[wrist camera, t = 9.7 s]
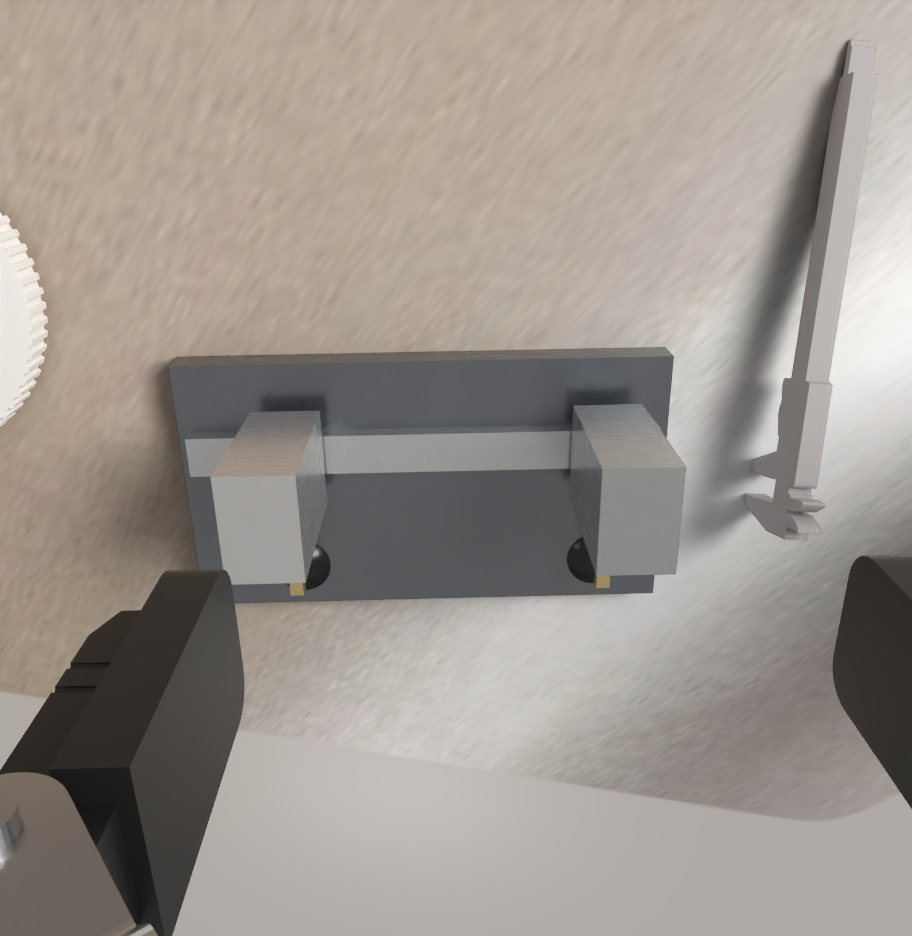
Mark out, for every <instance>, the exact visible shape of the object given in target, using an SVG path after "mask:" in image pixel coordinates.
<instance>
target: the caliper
mask: <svg viewBox="0 0 912 936" xmlns="http://www.w3.org/2000/svg"><path fill="white" fill-rule="evenodd" d="M875 53H876V48H875V42H871V41H860V40H850V41H849V43H848V47H847V53H846V59H845V66H844V73H843V76H842V77H841V78H840V81H839V86H838V90H837V95H836V99H835V103H834V108H833V112H832V117H831V122H830V129H829V135H828V142H827V148H826V155H825V162H824V168H823V175H822V182H821V188H820V195H819V202H818V208H817V215H816V222H815V228H814V235H813V242H812V248H811V255H810V261H809V268H808V274H807V281H806V287H805V294H804V300H803V306H802V313H801V319H800V326H799V332H798V339H797V345H796V352H795V358H794V365H793V371H792V378H791V379H790V378H785V379H784V380H783V386H782V401H781V405H780V408H779V413H778V435H779V441H778V447H777V452H774V453H771V454H767V455H764V456H761V457H758V458H755V459H753V463H752V467H751V469H753V470H756V472H757V473H758V474H761V475H763V476H766V477H768V478H772V479H775V480H776V484H775V491H774V498H771V497H769V496H767V495H765V494H749V493H746V505H747V507H748V508H749V509H750V511H751V512H752V514H753V515H754V516H755V517H756V518H757V520H758V521H759V522H760V523H761V525H762V526H763V527H764V528H765V530H766V531H768V532H770V533H772V534H774V535H777V536H779V537H781V538H783V539H789V540H806V541H807V535H808V534H821V530H820V527H819V525H818V523H817V522H816V520H815V519H814V517H813V516H811V515H809V514H808V512H817V511H819V510H821V509H823V508H824V507H825V506H826V505H825V503H823V502H821V501H818V500H813V499H812V495H810V492H811V488H816V486H817V481H818V475H819V468H820V462H821V456H822V449H823V443H824V436H825V430H826V424H827V417H828V411H829V404H830V398H831V392H832V384H831V383H829V382H828V380H829V374H830V368H831V362H832V356H833V350H834V343H835V337H836V331H837V325H838V319H839V313H840V307H841V301H842V294H843V288H844V282H845V276H846V270H847V264H848V258H849V252H850V245H851V239H852V233H853V227H854V221H855V215H856V209H857V203H858V196H859V190H860V184H861V178H862V172H863V165H864V159H865V153H866V147H867V141H868V134H869V128H870V122H871V116H872V109H873V103H874V97H875V91H876V85H877V78H878V74H873V73H872V72H873V66H874V60H875Z"/></svg>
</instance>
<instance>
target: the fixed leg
mask: <svg viewBox="0 0 912 936" xmlns="http://www.w3.org/2000/svg"><path fill="white" fill-rule="evenodd" d="M685 473H686V466H685V465H684V463H683V462H682V460H681V459H680V457H679V456H678V455H677V453H676V452H675V450H674V449H673V447H672V446H671V445H670V443H669V442H668V440H667V439H666V437H665V436H664V435H663V433H662V432H661V430H660V429H659V427H658V426H657V424H656V423H655V422H654V420H653V419H652V417H651V416H650V414H649V413H648V412H647V410H646V409H645V407H644V406H643V404H620V405H573V422H572V446H571V469H570V493H569V498H570V501H571V504H572V507H573V510H574V513H575V516H576V518H577V521H578V524H579V527H580V530H581V533H582V536H583V539H584V542H585V545H586V548H587V550H588V553H589V556H590V559H591V562H592V565H593V568H594V571H595V573H594V583H595V586H596V588H609V586H610V576H616V575H658V574H675V573H676V563H677V553H678V543H679V533H680V523H681V513H682V503H683V493H684V483H685Z"/></svg>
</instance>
